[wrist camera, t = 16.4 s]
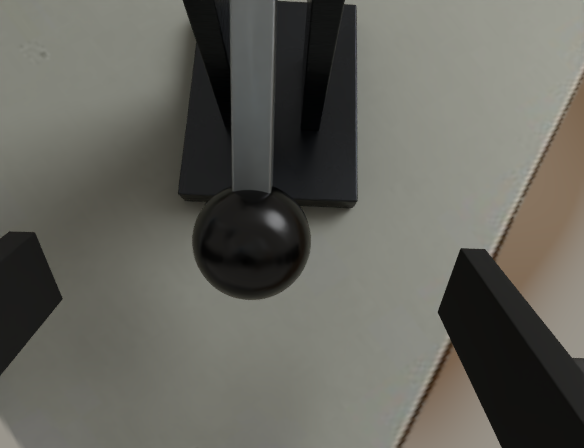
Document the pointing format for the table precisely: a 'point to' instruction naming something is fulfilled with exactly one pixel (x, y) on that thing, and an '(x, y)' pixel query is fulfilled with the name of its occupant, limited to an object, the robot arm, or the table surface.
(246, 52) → the lever
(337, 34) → the switch bracket
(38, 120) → the table surface
